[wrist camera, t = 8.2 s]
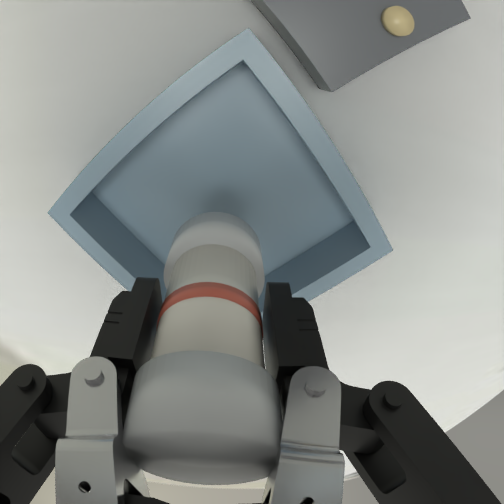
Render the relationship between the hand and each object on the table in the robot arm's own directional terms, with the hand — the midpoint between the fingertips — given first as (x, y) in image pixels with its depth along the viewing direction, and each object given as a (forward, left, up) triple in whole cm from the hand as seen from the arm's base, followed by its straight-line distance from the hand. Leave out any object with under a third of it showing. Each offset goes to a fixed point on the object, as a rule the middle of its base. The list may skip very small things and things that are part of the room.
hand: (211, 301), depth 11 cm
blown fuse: (0, 0, -3) cm, 3 cm away
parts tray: (0, 0, -9) cm, 9 cm away
